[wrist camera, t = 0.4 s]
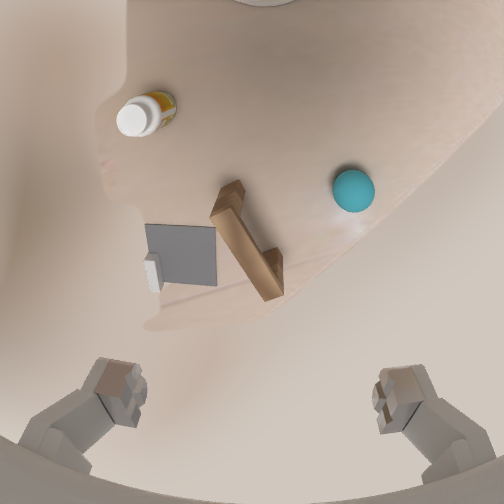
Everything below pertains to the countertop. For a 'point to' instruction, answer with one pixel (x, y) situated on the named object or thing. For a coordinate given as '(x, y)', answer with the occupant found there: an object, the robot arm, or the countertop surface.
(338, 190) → the ball
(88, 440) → the robot arm
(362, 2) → the countertop surface
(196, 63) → the countertop surface
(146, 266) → the wall
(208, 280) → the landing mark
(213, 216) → the bridge
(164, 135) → the countertop surface
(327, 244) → the countertop surface
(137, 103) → the supplement bottle
